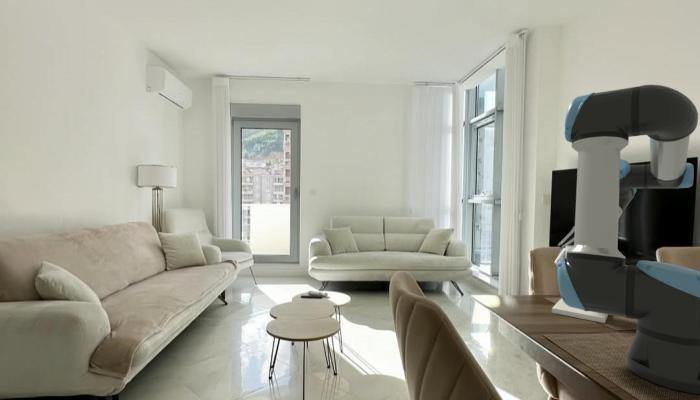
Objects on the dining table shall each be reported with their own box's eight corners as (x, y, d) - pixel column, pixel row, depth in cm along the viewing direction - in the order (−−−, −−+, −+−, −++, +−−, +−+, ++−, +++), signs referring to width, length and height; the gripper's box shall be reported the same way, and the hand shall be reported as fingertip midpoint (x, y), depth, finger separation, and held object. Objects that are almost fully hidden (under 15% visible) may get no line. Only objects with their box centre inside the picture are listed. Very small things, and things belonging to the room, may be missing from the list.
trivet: (604, 323, 104) (604, 318, 104) (551, 312, 114) (551, 308, 114) (609, 311, 116) (609, 306, 116) (561, 302, 125) (561, 298, 125)
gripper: (643, 227, 110) (608, 282, 104) (579, 222, 129) (546, 268, 124) (633, 211, 108) (596, 266, 102) (569, 208, 127) (535, 254, 122)
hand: (569, 267), depth 113 cm, fingers closed on cup, 8 cm apart
